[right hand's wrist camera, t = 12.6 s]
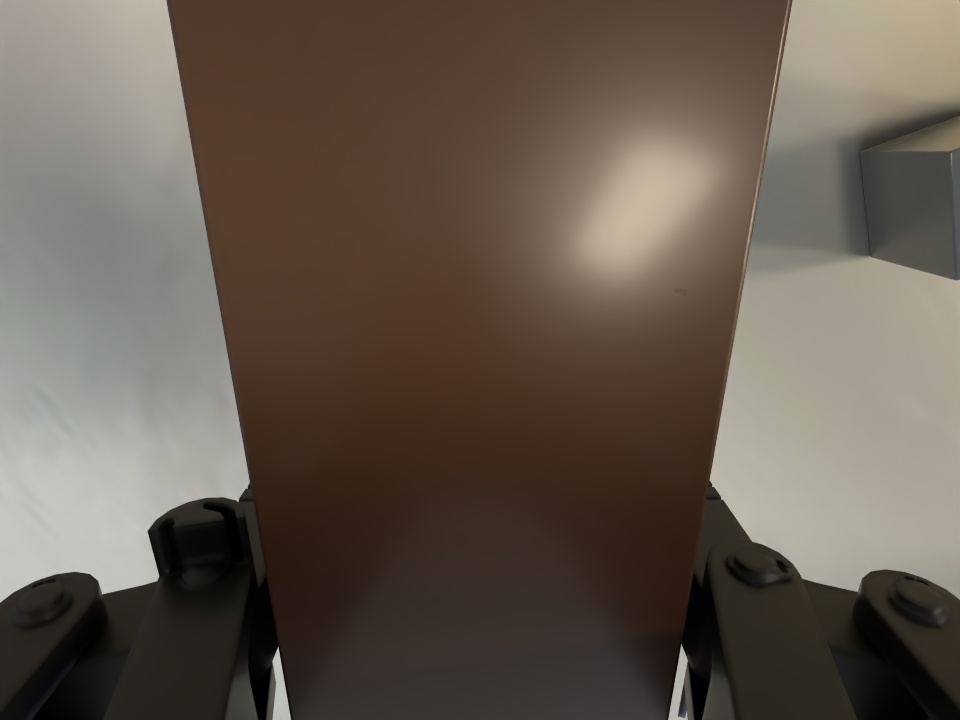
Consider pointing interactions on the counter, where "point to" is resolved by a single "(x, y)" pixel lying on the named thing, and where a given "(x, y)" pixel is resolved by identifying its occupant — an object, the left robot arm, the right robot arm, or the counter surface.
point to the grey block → (916, 199)
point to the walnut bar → (479, 330)
